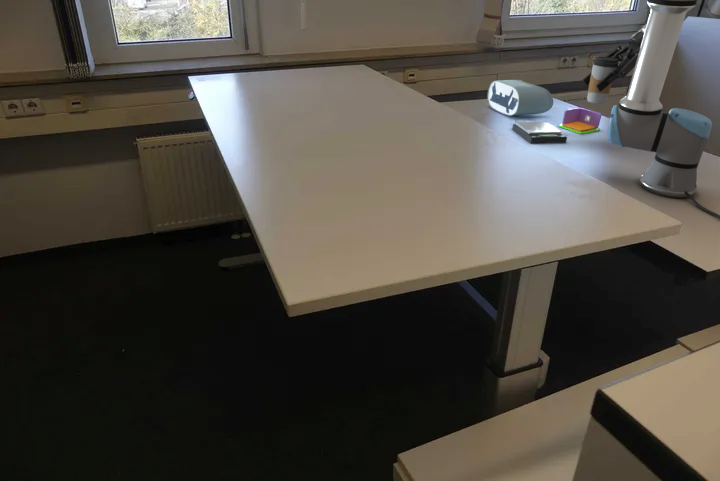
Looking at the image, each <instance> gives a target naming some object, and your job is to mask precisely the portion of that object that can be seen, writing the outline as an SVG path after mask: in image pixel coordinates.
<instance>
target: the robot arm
mask: <svg viewBox="0 0 720 481" xmlns="http://www.w3.org/2000/svg"><path fill="white" fill-rule="evenodd" d="M646 3H647V5H648V6H649V8H650V14H649V16H648V19H647V23H645V24H644V25H643V26H642V27H641V28H640V29H639V30H638V31H637V32H635V33H634V34H633V35H632V36H631V37H630V38H629V40H628V44H626V45H624V46H622V45H621V44H619V45H617V46H616V47H615V48H614V49H613V50H612V51H610V52H609V53H608V54H606V55H605V56H604V57H612V58H616V59H618V63H619V64H618V67H617V69H616V70H614V71H613V72H614V74H613V72H611V73H610V74H609V75H608V76H607V77H605V78H604V79H603V80H602V81H601V82H600V83H598V84H597V85H596V87H597V88H598V90H599V91H600V92H601V91H602V90H603V89H604V88H606V87H607V86H608V85H609V84H611V83H612V84H613V83H614V81H616V80H617V79H620V78H621V79H624V78H626V76H628V75H629V73H630V72H631V71H632V70H633V73H632V76H631V79H630V83H629V87H628V90H627V95H626V96H624V97H622V98H621V99H620V100H619V102H618V104H615V105H613V106H612V108H611V112H610V118H609V123H608V131H607V138H608V142H609V143H610V144H612V145H615V146H619V147H621V148H629V149H634V150H640V151H646V152H653V153H655V155H654V158H653V160H652V162H651V163H650V165H649V166H648V168H647V169H646V171H645V172H643V174H642V175H641V176H640V179H639V185H640V186H641V187H642V188H643V189H644V190H646V191H649V192H651V193H653V194H654V195H655V194H656V195H659V196H662V197H667V198H672V199H673V198H674V199H690V200H691V202H692V203H693V204H694V205H695V207H697V208H699V209H701V210H702V211H704V212H706V213H708V214H710V215H712V216H714V217H716V218H718V219H720V214H718V213H717V212H714V211H712V210H709V209H708V208H706V207H704V206H702V205H701V204H699V202H697V201H696V199H695V198H694V196H695V195H696V192H697V188H698V187H697V186H698V184H697V180H698V179H697V178H698V176H697V174H698V173H697V170H698V167H699V164H700V161H701V159H702V156H703V153H704V150H705V147H706V144H707V142H708V139H710V136H711V131H712V128H713V122H712V121H711V119H710V118H709V117H707V116H705V115H703V114H701V113H699V112H696V111H692V110H690V109H685V108H679V107H678V108H677V107H674V108H671V109H669V111H668V112H662V110H663V104H662V102H661V101H660V97H661V94H662V91H663V88H664V85H665V81H666V80H667V79H666V78H667V75H668V72H669V69H670V66H671V62H672V59H673V56H674V53H675V51H676V48H677V45H678V40H679V37H680V35H681V32H682V28H683V24H684V23H685V21H686V20H687V19H688V18H689V17H691V18H703V19H704V18H705V19H714V20H720V0H647V1H646ZM591 74H592V71H590V73H588V74H587V75H586V76H585V77H584V78H583V79H582V82H583V83H584V85H585V86H589V83H590V78H591Z"/></svg>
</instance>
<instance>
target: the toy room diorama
mask: <svg viewBox="0 0 720 481" xmlns="http://www.w3.org/2000/svg"><path fill="white" fill-rule="evenodd" d="M602 115H603V114H602V113H600V112H597V111H594V110H591V109H588V108H583V107H575V108H569V109H565V110H564V113H563V117H562V121H561V123H559V124H558V127H559V128H561V129H565V130H568V131H571V132H573V133H576V134H579V135H585V134H589V133H595V132H599V131H600V128H599V126H600V122H601V119H602Z"/></svg>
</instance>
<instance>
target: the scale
mask: <svg viewBox="0 0 720 481" xmlns="http://www.w3.org/2000/svg"><path fill="white" fill-rule="evenodd" d="M511 130H512V131H514V132H515V133H516V134H518V135H519V136H520V137H522V138H523V139H524V140H525V141H527V142H528V143H529V144H533V145H537V144H566V143H567V139H568V136H567V135H565V134H564V133H563V131H561V130H560V129H558V128H557V127H555V126H554V125H552V124H550V123H549V122H547V121H515V122H514V123H513V124H512V129H511Z"/></svg>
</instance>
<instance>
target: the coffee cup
mask: <svg viewBox="0 0 720 481" xmlns="http://www.w3.org/2000/svg"><path fill="white" fill-rule="evenodd" d="M619 64H620V62H618V59H616V58H612V57H605V56H596V57H595V59H594V60H593V62H592V68H591V72H592V74H591V78H590V83H589V85H588V90H587V97H586V101H587V102H588V103H591V104H596V105H603V104H605V103H606V102H607V99H608V96H609V94H610V91H611V88H612V85H613V82H612V83H611V84H609V85H608V86H607V87H606V88H604V89H603V90H602V91H601V92H600V91H599V90H598V88H597V87H596V85H597V84H598V83H600V82H601V81H602V80H603V79H604V78H605V77H607V76H608V75H609V74H610V73H611V72H613V71H614V70H616V69H617V67H618V66H619ZM613 74H614V72H613Z"/></svg>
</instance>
